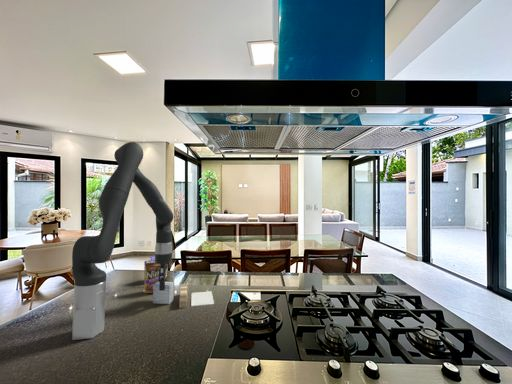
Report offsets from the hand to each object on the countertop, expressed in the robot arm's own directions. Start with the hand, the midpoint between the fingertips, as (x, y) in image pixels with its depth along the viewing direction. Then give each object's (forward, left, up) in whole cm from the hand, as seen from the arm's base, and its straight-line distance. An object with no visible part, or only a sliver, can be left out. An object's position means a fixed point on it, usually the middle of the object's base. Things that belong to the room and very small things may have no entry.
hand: (162, 287), depth 112 cm
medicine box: (-1, 0, -7) cm, 7 cm away
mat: (-1, -18, -7) cm, 19 cm away
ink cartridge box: (+33, +9, -7) cm, 35 cm away
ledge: (-1, -9, -7) cm, 11 cm away
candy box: (+14, +6, -7) cm, 17 cm away
